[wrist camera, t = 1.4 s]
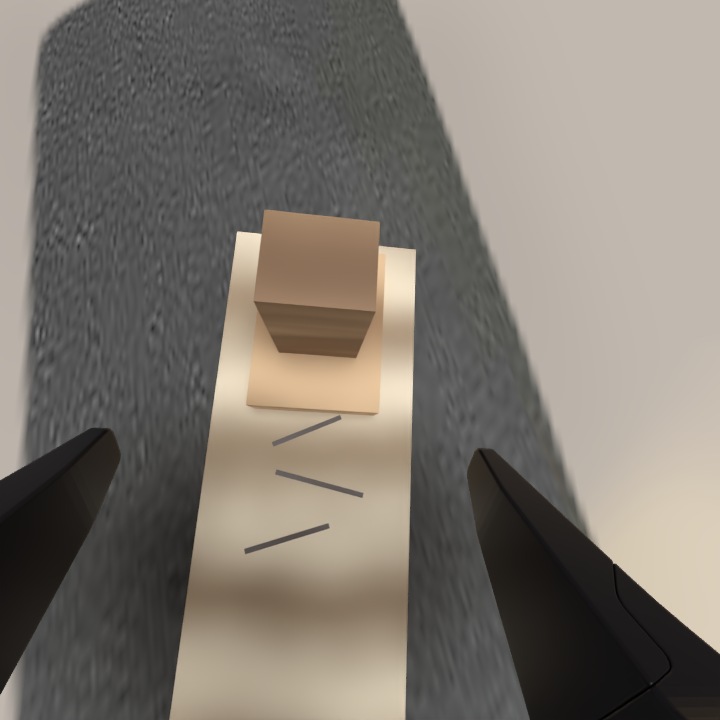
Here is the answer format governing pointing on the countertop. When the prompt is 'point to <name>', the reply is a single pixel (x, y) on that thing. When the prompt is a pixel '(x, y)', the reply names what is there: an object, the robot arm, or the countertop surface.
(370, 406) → the block
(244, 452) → the board
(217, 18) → the countertop surface
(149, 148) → the countertop surface
